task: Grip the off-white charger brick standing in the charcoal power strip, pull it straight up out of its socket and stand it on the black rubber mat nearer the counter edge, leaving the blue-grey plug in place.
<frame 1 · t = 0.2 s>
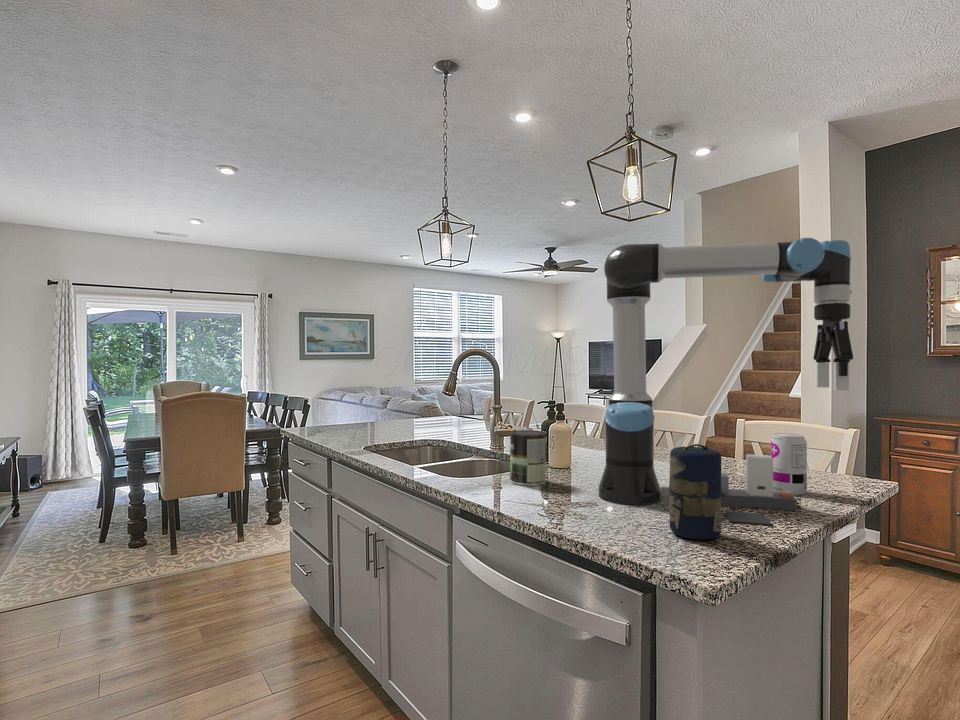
hand: (831, 388, 134), 27 cm above the worktop, tool pointing down, fingers open, 13 cm apart
mat: (747, 518, 117), on the worktop
supplement can: (788, 492, 142), on the worktop
coffee can: (527, 482, 153), on the worktop
canister: (694, 536, 106), on the worktop
charger: (759, 493, 129), point 2 cm above the worktop, touching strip
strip: (740, 503, 130), on the worktop
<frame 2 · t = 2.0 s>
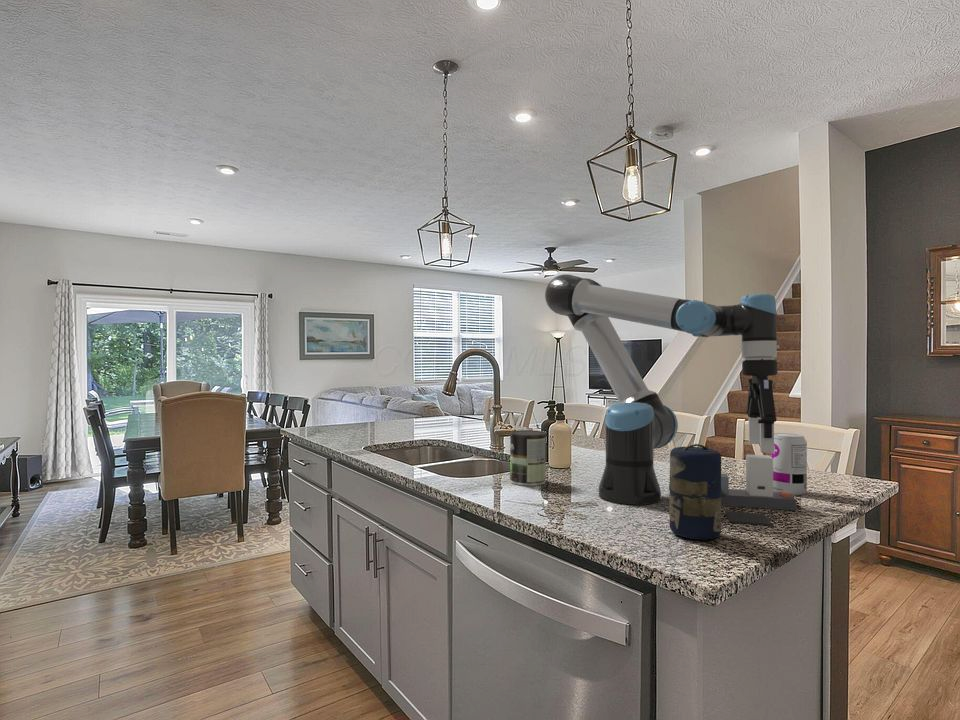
hand: (760, 447, 129), 14 cm above the worktop, tool pointing down, fingers open, 13 cm apart
nothing on the worktop moved.
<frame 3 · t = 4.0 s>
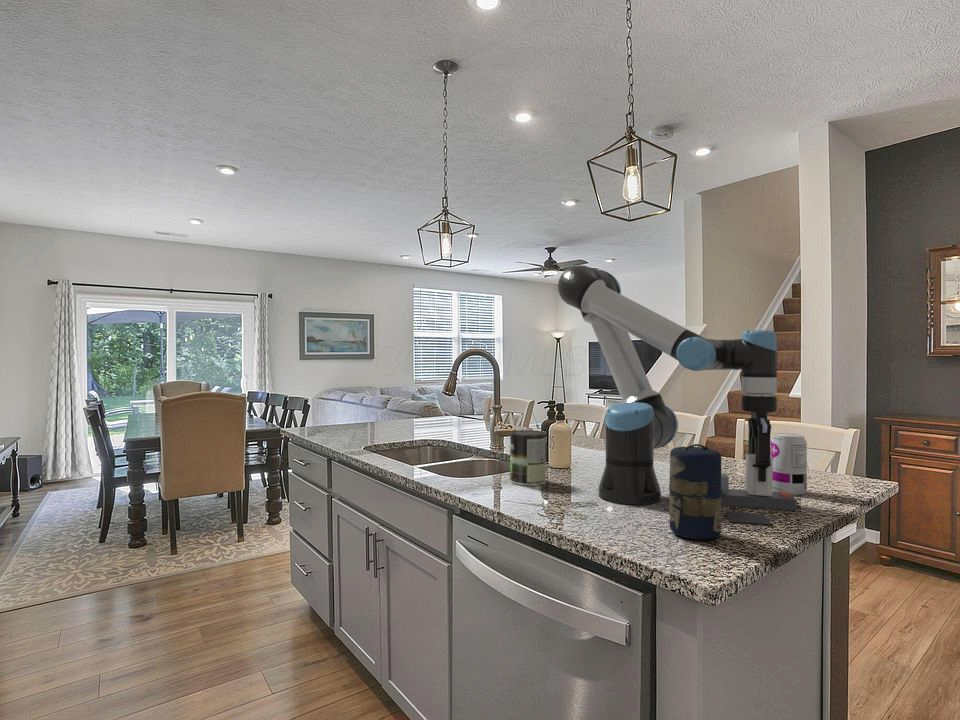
hand: (758, 491, 129), 3 cm above the worktop, tool pointing down, fingers closed on charger, 5 cm apart
charger: (758, 493, 129), point 3 cm above the worktop, touching gripper
everything else where it was.
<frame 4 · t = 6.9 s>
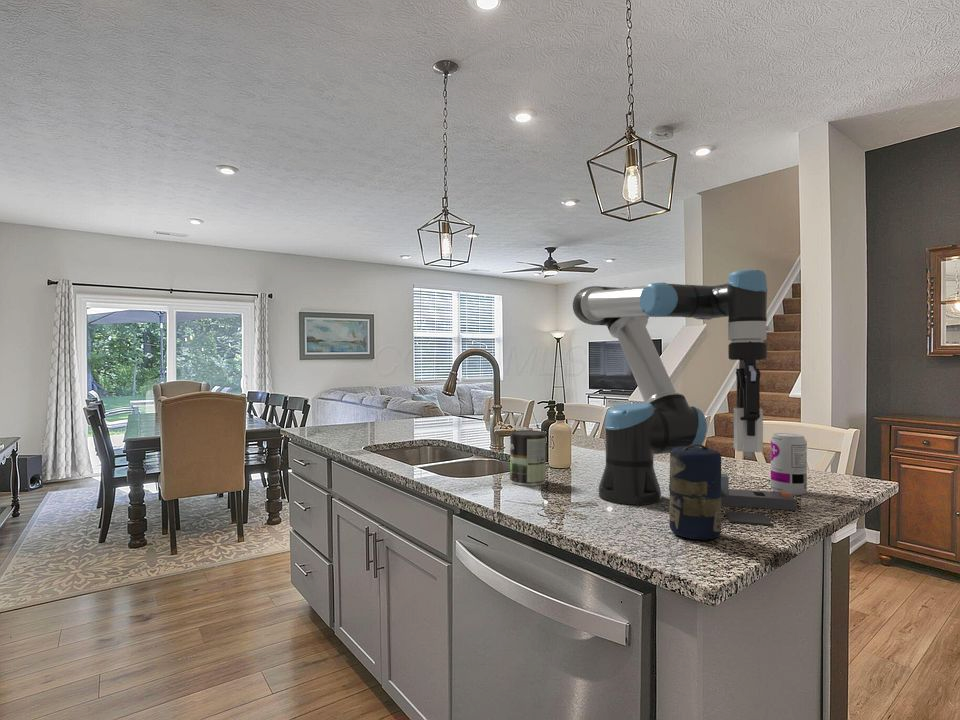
hand: (747, 448, 117), 15 cm above the worktop, tool pointing down, fingers closed on charger, 5 cm apart
charger: (748, 450, 117), point 15 cm above the worktop, touching gripper
everything else where it was.
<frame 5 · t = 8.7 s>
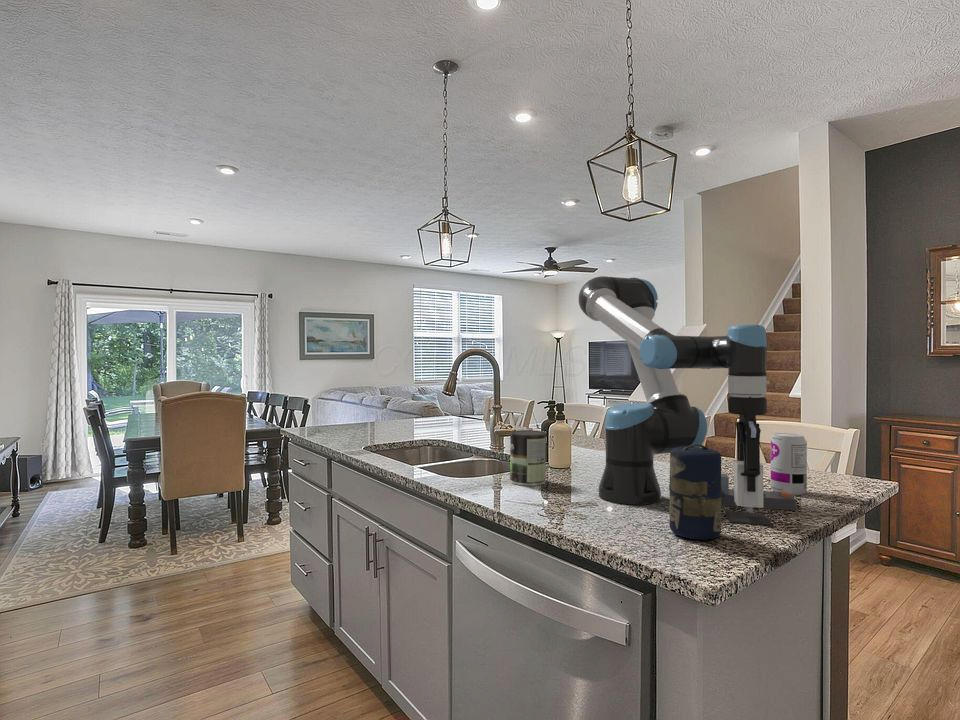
hand: (748, 503, 117), 4 cm above the worktop, tool pointing down, fingers closed on charger, 5 cm apart
charger: (748, 504, 117), point 3 cm above the worktop, touching gripper
everything else where it was.
when the fingers open (2 cm above the worktop, at t = 9.5 s): charger stays where it is, resting on mat.
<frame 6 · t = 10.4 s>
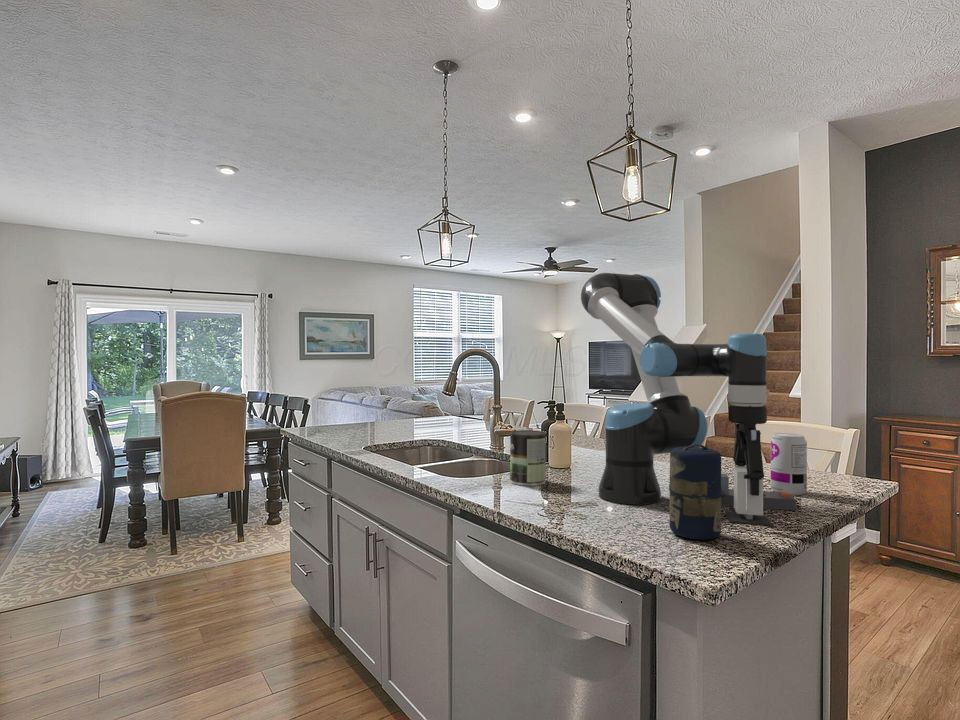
hand: (747, 502, 117), 4 cm above the worktop, tool pointing down, fingers open, 13 cm apart
charger: (748, 511, 117), point 2 cm above the worktop, touching mat
everything else where it was.
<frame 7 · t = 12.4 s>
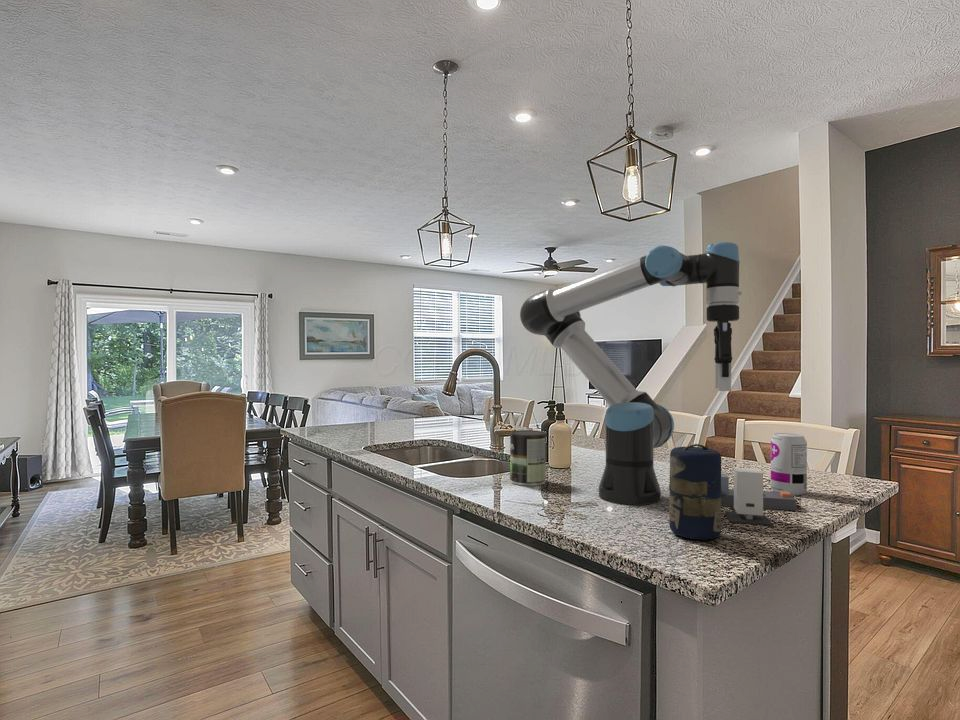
hand: (722, 389, 135), 27 cm above the worktop, tool pointing down, fingers open, 13 cm apart
nothing on the worktop moved.
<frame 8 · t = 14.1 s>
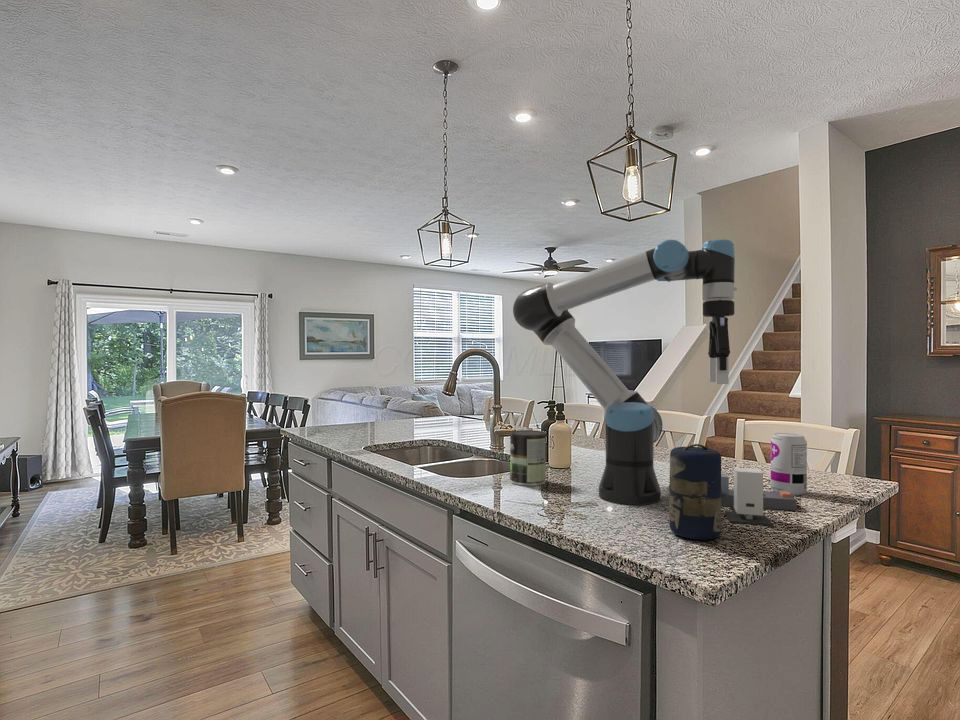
hand: (718, 383, 139), 29 cm above the worktop, tool pointing down, fingers open, 13 cm apart
nothing on the worktop moved.
at the end: charger inside the target area on the mat (0.1 cm from its centre), point 1.6 cm above the mat's base; charger tilted 0°; charger touching mat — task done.
